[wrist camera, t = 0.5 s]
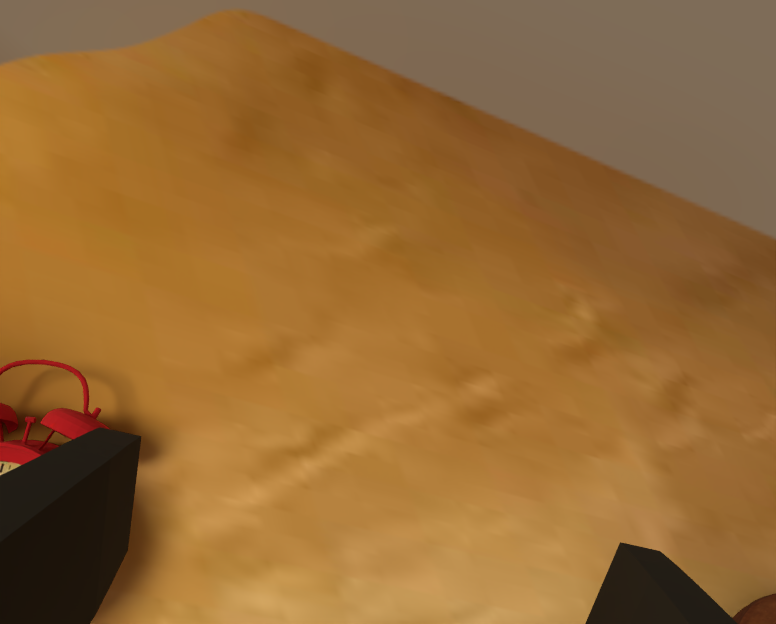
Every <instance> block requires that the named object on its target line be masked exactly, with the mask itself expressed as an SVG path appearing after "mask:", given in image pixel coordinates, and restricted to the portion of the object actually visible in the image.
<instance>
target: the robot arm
mask: <svg viewBox="0 0 776 624" xmlns="http://www.w3.org/2000/svg"><path fill="white" fill-rule="evenodd" d="M140 442H141V436H137V435H133V434H128V433H124V432H119V431H115V430H110V429H106V428H101V427H99V428H96V429H94V430H92V431H90V432H87V433H85V434H83V435H81V436H79V437H77V438H75V439H73V440H71V441H69V442H67V443H65V444H63V445H61V446H59V447H57V448H55V449H53V450H51V451H49V452H47V453H45V454H43V455H41V456H39V457H37V458H35V459H33V460H31V461H29V462H27V463H25V464H23V465H21V466H19V467H17V468H15V469H12V470H10V471H8V472H6V473H4V474H2V475H0V624H90V623H91V621H92V619H93V618H94V616H95V614H96V613H97V611H98V609H99V607H100V605H101V603H102V601H103V599H104V597H105V595H106V593H107V591H108V589H109V587H110V585H111V583H112V581H113V579H114V577H115V575H116V573H117V571H118V569H119V567H120V565H121V563H122V561H123V559H124V557H125V555H126V553H127V550H128V543H129V534H130V526H131V518H132V509H133V501H134V493H135V484H136V476H137V467H138V459H139V451H140ZM586 624H738V623H736V622H735V621H734V620H733V619H732V618H731V617H730V616H729V615H728V614H727V613H726V612H725V611H724V610H723V609H722V608H721V607H720V606H719V605H718V604H717V603H716V602H715V601H714V600H713V599H712V598H711V597H710V596H709V595H708V594H707V593H706V592H705V591H704V590H702V589H701V588H700V587H699V586H698V585H697V584H696V583H695V582H694V581H693V580H692V579H691V578H690V577H689V576H688V575H687V574H686V573H684V572H683V571H682V570H681V569H680V568H679V567H678V566H677V565H676V564H675V563H673V562H672V561H671V560H670V559H669V558H667V557H666V556H665V555H664V554H663V553H661V552H660V551H657V550H652V549H648V548H643V547H639V546H634V545H630V544H625V543H621V542H620V544H619V547H618V549H617V551H616V554H615V556H614V558H613V561H612V563H611V565H610V568H609V570H608V572H607V575H606V577H605V579H604V582H603V584H602V586H601V589H600V591H599V593H598V596H597V598H596V600H595V603H594V605H593V607H592V610H591V612H590V614H589V617H588V619H587V621H586Z"/></svg>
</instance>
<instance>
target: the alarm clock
mask: <svg viewBox="0 0 776 624" xmlns="http://www.w3.org/2000/svg"><path fill="white" fill-rule="evenodd" d="M25 364H44V365H50V366H56V367H60V368H63V369H66V370H68V371H70V372H72V373H74V374H75V375H76V376H77V377H78V378H79V380H80V381H81V384H82V386H83V393H84V414H83V413H81V412H78V411H74V410H71V409H65V408H59V409H54V410H52V411H50V412H48V413H47V414H46V416H45V417H44V418H43V419H42V421H41V422H40V423H41V424H42V425H44V426H46V427H48V428H50V429H52V431H51V433H50V434H49V436H48V437H47V439H46V440H45V441H44V442H42V441H37V440H27V438H28V435H29V431H30V428H31V424H32V423H35V422H36V417H28V416H27V417H26V418H25V422H28V423H27V427H26V430H25V433H24V437H23V440H12V441H6V442H4V437H3V428H2V422H3V423H4V424H5V425H6V427H7V430H8V433H10V432H12V431H14V430H16V429H17V427H18V419H17V416H16V413H15V412H14V410H13V409H12V408H11V407H10V406H8V405H5V404H2V403H0V441H1V442H0V475H2V474H4V473H6V472H8V471H10V470H12V469H15V468H17V467H19V466H21V465H23V464H25V463H27V462H29V461H31V460H33V459H35V458H37V457H39V456H41V455H43V454H45V453H47V452H49V451H51V450H53V449H55V448H57V447H59V446H58V445H55V444H52V443H47V442H48V440H49V439H50V438H51V436H52V435H53V433H54V432H55V431H56V432H58V433H60V434H62V435H64V436H66V437H68V438H70V439H72V440H73V439H75V438H77V437H79V436H81V435H83V434H85V433H87V432H90V431H92V430H94V429H96V428H99V427H101V428H106V429H110V428H108V427H107V426H106V425H104V424H103V423H101V422H99V421H97V420H96V418H97V416H98V415H99V413H100V412H101V409H100V408H96V409H95V410H94V412H93V413H92V414H91V413H90V412H89V411H88V405H89V390H88V385H87V382H86V380H85V378H84V377H83V375H82V374H81V373H80V372H79V371H78V370H76V369H74V368H73V367H71V366H69V365H66V364H63V363H59V362H54V361H48V360H22V361H16V362H13V363H10V364H7V365H6V366H4V367H2V368H0V375H1V374H2V373H3V372H5V371H6V370H8V369H10V368H12V367H16V366H21V365H25ZM110 430H111V429H110Z"/></svg>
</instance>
